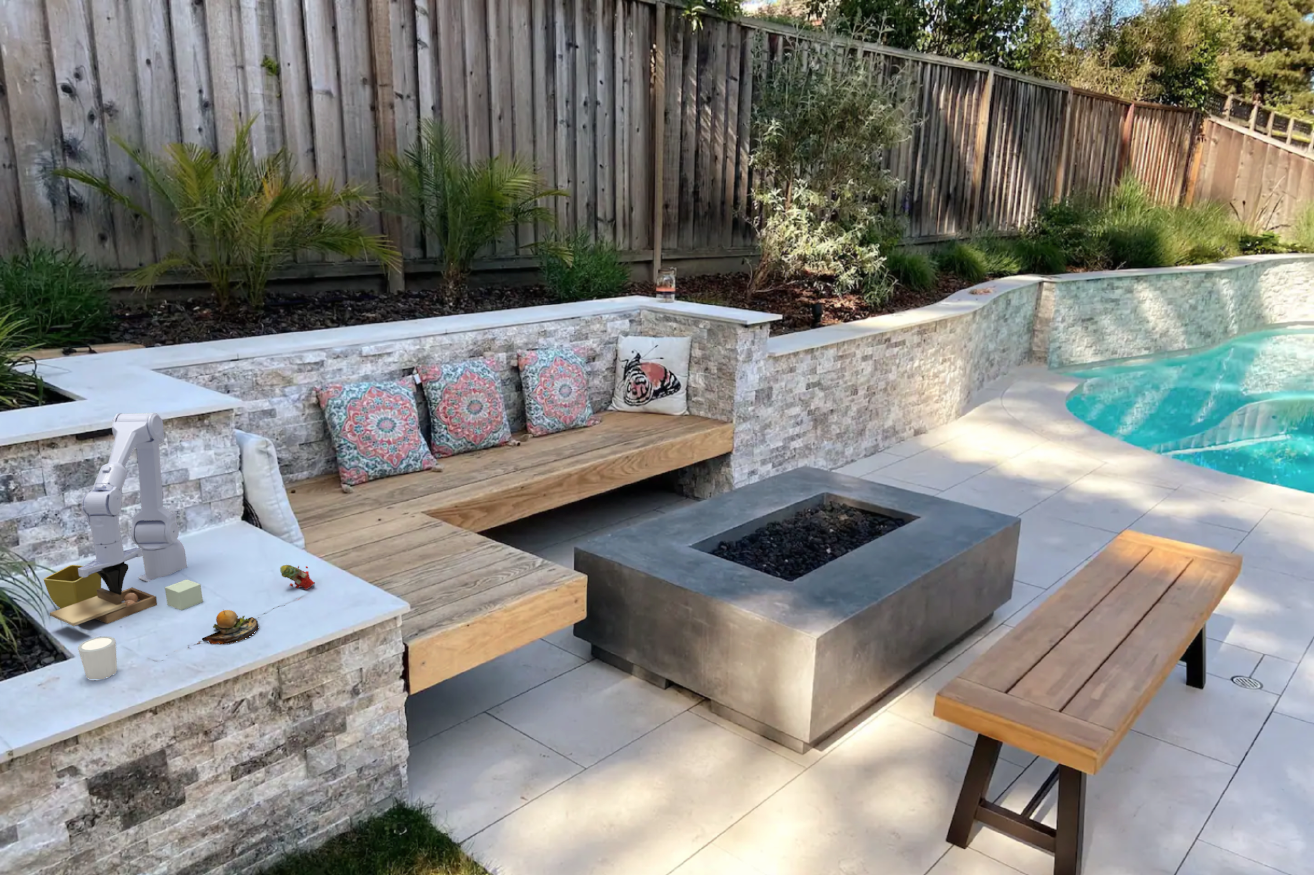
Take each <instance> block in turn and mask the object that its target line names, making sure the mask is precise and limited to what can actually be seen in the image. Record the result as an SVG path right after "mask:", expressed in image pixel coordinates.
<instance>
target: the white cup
mask: <svg viewBox="0 0 1314 875" xmlns="http://www.w3.org/2000/svg"><path fill="white" fill-rule="evenodd" d="M116 642H117V641H116V639H115V638H114V637H112V636H98V637H93V638H90V639H87V640H84V641H83V642H82V643H80V644H78V647H77V650H78V655H79V657H80V659H81V664H82V667H83V670H84V673H85V677H86V679H87V678H89V679H103V680H105V679H104V678H106V677H109V678H111V677H112V676H111V675H113V674H114V675H115V673H116V674H117V672H118V664H117V662H118V661H117V660H118V659H117V644H116ZM116 671H117V672H116ZM114 675H113V676H114ZM110 676H111V677H110ZM89 679H88V680H89ZM106 679H107V678H106Z"/></svg>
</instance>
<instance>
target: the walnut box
mask: <svg viewBox="0 0 1314 875" xmlns="http://www.w3.org/2000/svg"><path fill="white" fill-rule="evenodd" d="M128 593H135V594H136V595H137V596H138V601H137V602H136V603H133V604H131V605H128V606H126V607H123V608H121V609H118V610H115V611H113V612H110V613H107V614H105V615H102V616H99V617H97V618H94V619H95V620H97V621H100V622H102V623H104V624H111V623H113V622H116V621H118V620H119V621H120V620H121V619H124V618H126V617H130V616H132V615H134V614H137V613H140V612H142V611H145V610H147V609H150V608H153V607H156V606H157V605H158V601H157V595H154V594H150V593H148V592H146V591H143V590H141V589H137V588H135V587H129V588H126V589H124V590H123V589H122V594H121V601H122V602H124V597H125V596H126V595H127V594H128Z"/></svg>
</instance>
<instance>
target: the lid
mask: <svg viewBox="0 0 1314 875" xmlns="http://www.w3.org/2000/svg"><path fill="white" fill-rule="evenodd" d="M123 607H126V603H124V601H121V595H118V594H116V593H113V592H111V591H109V589H105V588H104V587H101V588H100V589H97V596H95V597H93V598H90V599H87V600H84V601H81V602H79V603H76V604H73V605H70V606H67V607H65V608H62V609H60V608H59V609H55V610H54V611H50V612H49V616H50V617H52V618H54V619H56V620H58V621H60V622H63V623H65V624H67V625H71V626H73V627H75V626H78V625H80V624H83V623H86V622H88V621H91V620H94V619H95V618H97V617H99V616H102V615H105V614H107V613H110V612H113V611H115V610H118V609H121V608H123Z"/></svg>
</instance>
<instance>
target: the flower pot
mask: <svg viewBox="0 0 1314 875" xmlns="http://www.w3.org/2000/svg"><path fill="white" fill-rule="evenodd" d="M83 566H84V565H78V564H77V565H76V564H69V565H68V566H66V567H64V568H62V569H61V570H59V571H56V572H55V573H52V574H50V575H47V577H44V578H42V580H43V583H44V584H45V587H46V590H47V593H48V595H49V598H50V599H51V601H52V602H53V603H54V604H55V605H56V606H57V607H58V608H59V609H62V608H65V607H67V606H70V605H73V604H76V603H79V602H81V601H84V600H87V599H90V598H93V597H95V596H97V589H100V588H102V578H101V577H100V575H99V574H98V573H97V572H95V573H93V574H90V575H88V577H85V578H84V577H80V576H79V572H78V568H80V567H83Z"/></svg>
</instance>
